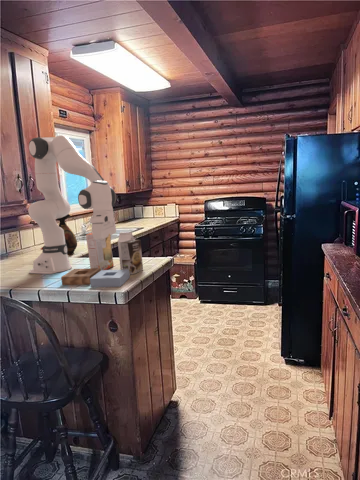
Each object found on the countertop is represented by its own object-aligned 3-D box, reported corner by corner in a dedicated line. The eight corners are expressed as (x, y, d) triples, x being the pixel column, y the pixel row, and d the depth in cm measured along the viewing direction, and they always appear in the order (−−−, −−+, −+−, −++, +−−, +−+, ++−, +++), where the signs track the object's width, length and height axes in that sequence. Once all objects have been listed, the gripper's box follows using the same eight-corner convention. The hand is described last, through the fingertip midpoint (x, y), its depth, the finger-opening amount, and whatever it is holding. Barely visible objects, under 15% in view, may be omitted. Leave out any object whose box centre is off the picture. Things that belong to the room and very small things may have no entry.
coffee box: (132, 274, 174) (129, 243, 171) (122, 273, 177) (119, 242, 174) (143, 270, 182) (141, 239, 179) (134, 268, 185) (131, 239, 182)
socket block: (90, 287, 158) (89, 278, 157) (102, 278, 172) (101, 270, 171) (120, 286, 156) (119, 277, 155) (129, 277, 170) (128, 269, 169)
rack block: (62, 285, 165) (61, 276, 164) (75, 276, 178) (74, 268, 177) (90, 284, 162) (89, 276, 162) (101, 275, 176) (100, 268, 175)
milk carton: (133, 269, 185) (129, 233, 181) (120, 269, 186) (116, 234, 183) (137, 265, 192) (134, 231, 188) (125, 265, 193) (121, 231, 190)
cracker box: (104, 266, 196) (100, 229, 192) (114, 266, 194) (110, 229, 190) (90, 273, 183) (85, 233, 179) (99, 273, 181) (95, 233, 177)
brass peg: (102, 260, 160) (99, 234, 158) (105, 258, 164) (102, 233, 162) (110, 260, 160) (108, 234, 158) (113, 258, 164) (111, 233, 161)
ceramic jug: (76, 251, 245) (71, 208, 240) (79, 254, 231) (74, 209, 226) (51, 254, 238) (45, 211, 233) (52, 258, 224) (46, 212, 219)
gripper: (105, 214, 169) (108, 242, 171) (88, 219, 149) (91, 251, 152) (117, 213, 168) (120, 241, 170) (102, 219, 148) (105, 251, 151)
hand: (106, 246), depth 161 cm, fingers closed on brass peg, 4 cm apart
